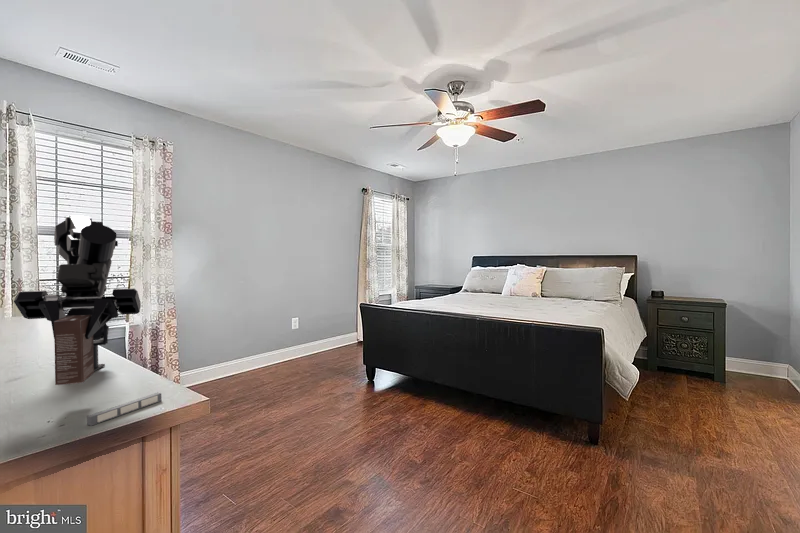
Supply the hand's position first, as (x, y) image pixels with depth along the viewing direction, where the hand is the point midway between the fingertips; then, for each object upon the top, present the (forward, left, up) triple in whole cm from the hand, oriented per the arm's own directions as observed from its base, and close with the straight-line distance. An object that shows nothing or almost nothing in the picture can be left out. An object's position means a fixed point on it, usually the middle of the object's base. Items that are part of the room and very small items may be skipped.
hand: (71, 338), depth 70 cm
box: (-2, -1, -8) cm, 9 cm away
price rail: (+4, +10, -13) cm, 17 cm away
